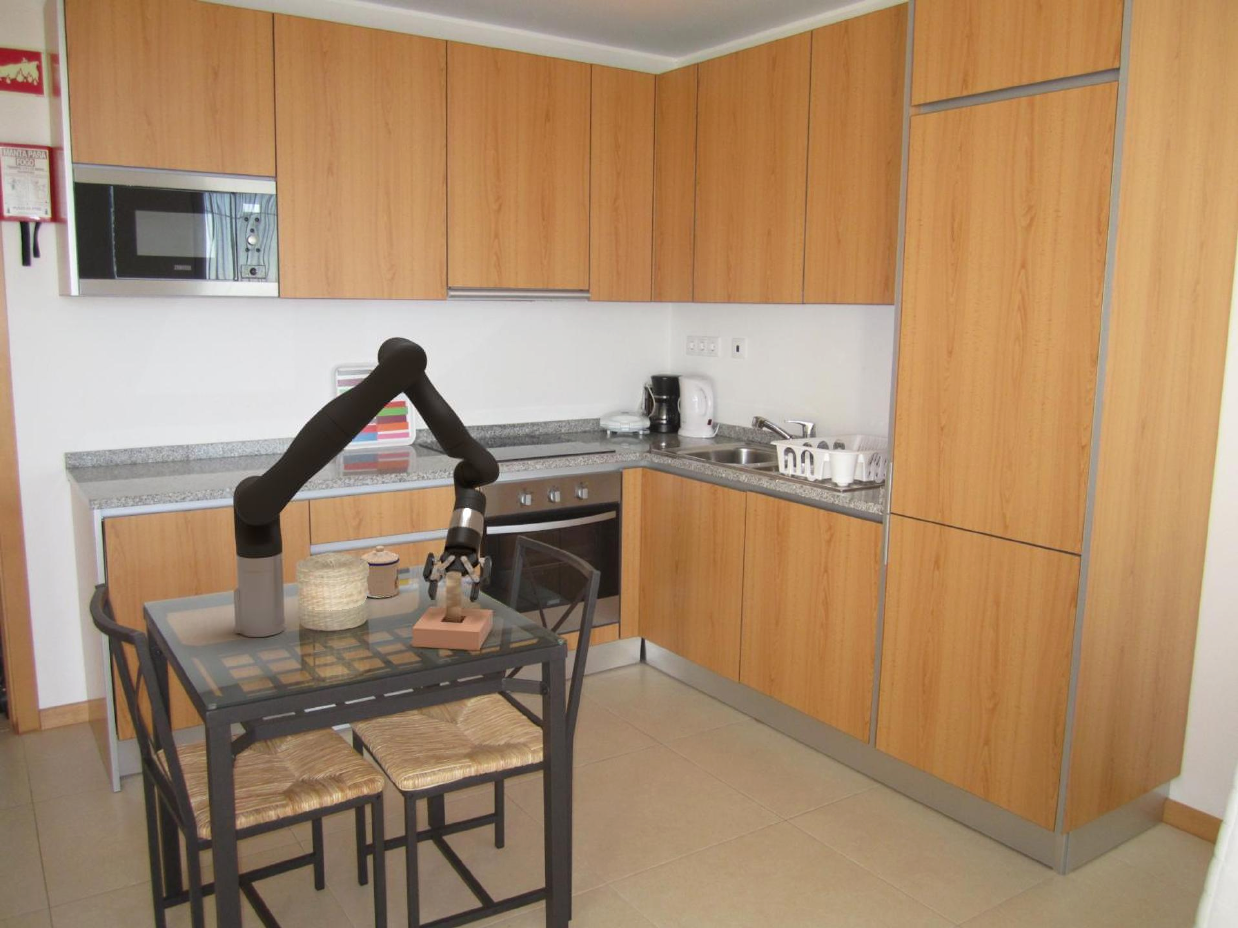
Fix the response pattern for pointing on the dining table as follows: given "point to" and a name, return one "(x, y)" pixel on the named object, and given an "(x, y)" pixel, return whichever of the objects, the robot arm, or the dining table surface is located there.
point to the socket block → (452, 629)
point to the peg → (453, 597)
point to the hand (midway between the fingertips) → (452, 599)
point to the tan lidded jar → (382, 572)
